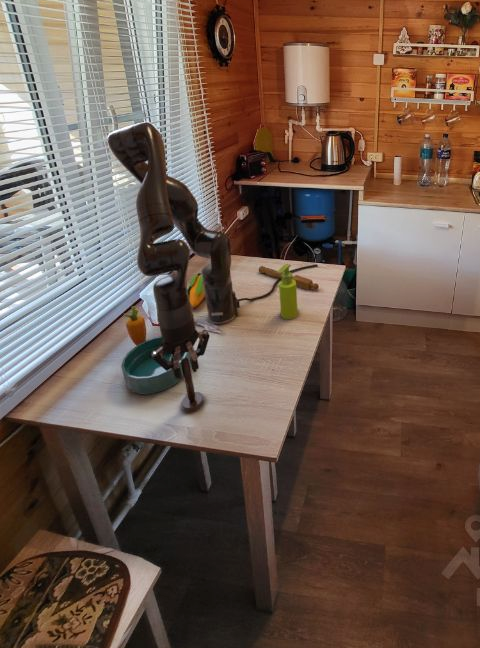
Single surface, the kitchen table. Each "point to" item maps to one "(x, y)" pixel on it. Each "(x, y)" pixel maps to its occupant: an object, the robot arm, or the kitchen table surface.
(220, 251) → the robot arm
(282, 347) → the kitchen table surface
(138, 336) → the carrot
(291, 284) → the soap dispenser
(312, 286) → the rolling pin
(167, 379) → the bowl
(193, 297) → the corn
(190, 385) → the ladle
